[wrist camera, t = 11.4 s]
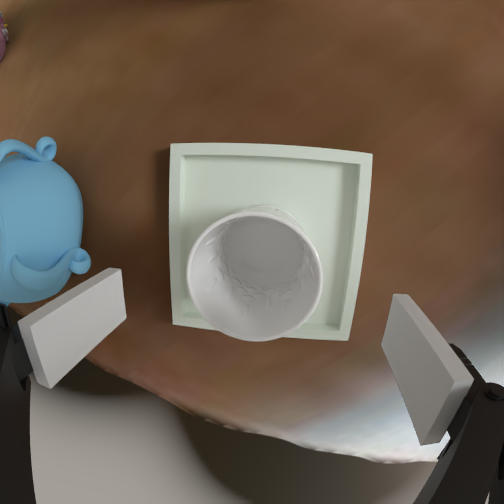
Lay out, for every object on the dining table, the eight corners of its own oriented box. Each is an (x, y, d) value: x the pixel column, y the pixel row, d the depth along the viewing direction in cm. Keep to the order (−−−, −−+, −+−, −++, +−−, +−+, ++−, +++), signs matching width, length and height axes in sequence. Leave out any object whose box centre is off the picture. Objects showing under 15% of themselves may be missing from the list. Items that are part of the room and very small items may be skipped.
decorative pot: (118, 275, 30) (34, 331, 17) (33, 292, 33) (-37, 333, 20) (84, 130, 27) (-13, 120, 14) (4, 178, 29) (-73, 191, 16)
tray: (367, 155, 24) (372, 153, 22) (345, 331, 29) (348, 340, 27) (177, 145, 26) (170, 143, 24) (178, 316, 30) (172, 324, 29)
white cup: (256, 300, 28) (240, 361, 19) (204, 232, 27) (160, 264, 17) (328, 253, 26) (348, 298, 17) (276, 179, 25) (268, 182, 16)
